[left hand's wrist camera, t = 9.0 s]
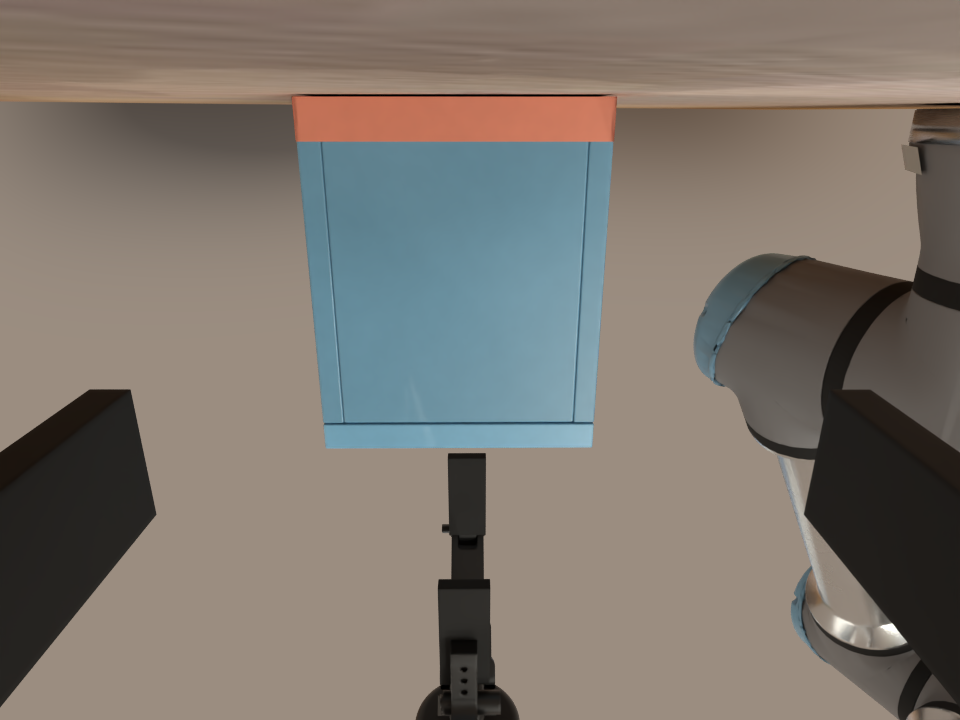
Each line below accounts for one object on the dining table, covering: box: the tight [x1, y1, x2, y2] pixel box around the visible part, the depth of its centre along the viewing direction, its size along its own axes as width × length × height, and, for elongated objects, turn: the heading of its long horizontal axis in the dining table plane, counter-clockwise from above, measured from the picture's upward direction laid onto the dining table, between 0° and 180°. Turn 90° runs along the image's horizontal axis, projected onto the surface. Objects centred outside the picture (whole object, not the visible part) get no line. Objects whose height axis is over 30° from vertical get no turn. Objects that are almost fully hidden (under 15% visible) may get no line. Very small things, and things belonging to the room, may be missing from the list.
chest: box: [292, 96, 617, 423], centre depth 28 cm, size 16×9×10 cm, turn 0°
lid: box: [324, 421, 594, 448], centre depth 32 cm, size 17×9×8 cm, turn 179°
